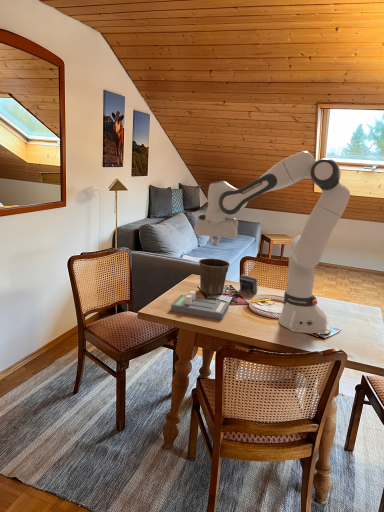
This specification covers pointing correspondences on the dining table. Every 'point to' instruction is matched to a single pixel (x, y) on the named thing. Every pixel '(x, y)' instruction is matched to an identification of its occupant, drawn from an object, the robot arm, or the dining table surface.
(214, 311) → the grey slider panel
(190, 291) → the block
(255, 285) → the electrical switch
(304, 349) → the dining table surface
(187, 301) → the block
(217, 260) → the plant pot
